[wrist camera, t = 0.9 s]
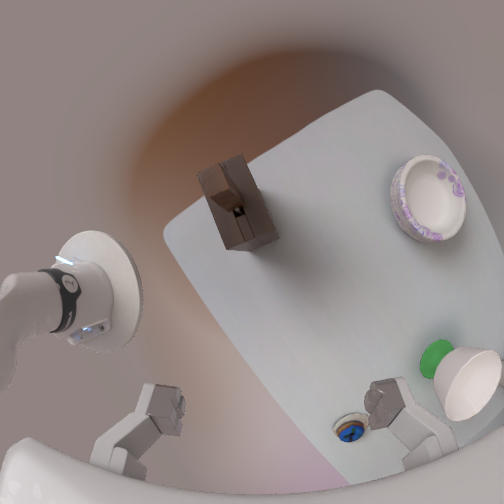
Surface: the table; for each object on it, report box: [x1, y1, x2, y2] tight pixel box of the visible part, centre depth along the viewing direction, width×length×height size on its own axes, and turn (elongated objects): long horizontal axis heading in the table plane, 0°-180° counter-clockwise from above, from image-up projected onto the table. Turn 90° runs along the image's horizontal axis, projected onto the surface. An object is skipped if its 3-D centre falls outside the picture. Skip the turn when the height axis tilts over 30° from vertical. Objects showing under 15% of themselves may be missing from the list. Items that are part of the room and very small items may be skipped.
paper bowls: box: [390, 155, 466, 242], centre depth 41 cm, size 15×15×8 cm
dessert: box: [333, 413, 369, 442], centre depth 45 cm, size 8×7×6 cm
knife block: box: [197, 154, 279, 251], centre depth 40 cm, size 6×10×18 cm, turn 23°
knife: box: [199, 163, 245, 215], centre depth 31 cm, size 2×3×17 cm, turn 23°
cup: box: [420, 340, 502, 422], centre depth 36 cm, size 14×14×16 cm
